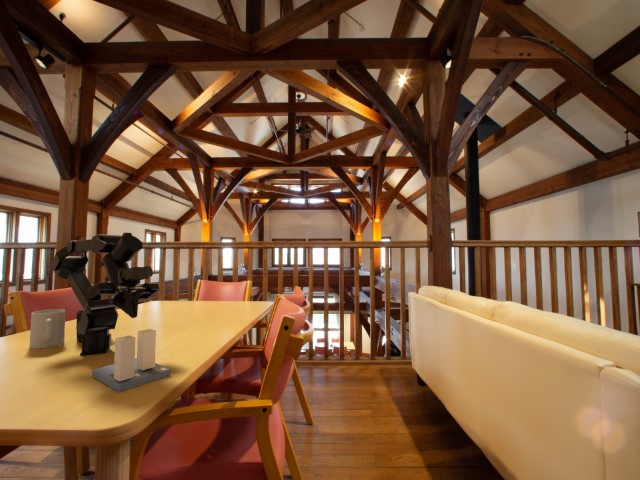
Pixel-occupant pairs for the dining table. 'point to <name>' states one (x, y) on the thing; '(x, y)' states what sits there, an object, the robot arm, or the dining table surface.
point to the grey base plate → (139, 378)
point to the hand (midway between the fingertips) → (134, 317)
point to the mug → (47, 328)
